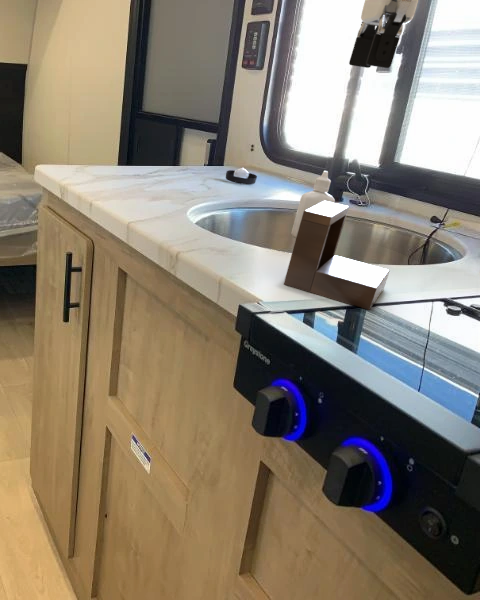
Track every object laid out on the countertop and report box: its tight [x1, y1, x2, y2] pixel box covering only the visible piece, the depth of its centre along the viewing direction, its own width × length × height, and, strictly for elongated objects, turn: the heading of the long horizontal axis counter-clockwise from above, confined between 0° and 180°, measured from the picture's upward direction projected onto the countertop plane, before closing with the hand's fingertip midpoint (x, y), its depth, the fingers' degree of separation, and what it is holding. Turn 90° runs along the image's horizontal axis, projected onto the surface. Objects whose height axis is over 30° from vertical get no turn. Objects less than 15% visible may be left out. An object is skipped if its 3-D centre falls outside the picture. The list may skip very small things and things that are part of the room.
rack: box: [283, 201, 391, 311], centre depth 80 cm, size 11×11×10 cm
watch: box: [225, 167, 258, 185], centre depth 152 cm, size 8×5×4 cm, turn 77°
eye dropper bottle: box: [290, 170, 336, 239], centre depth 104 cm, size 4×6×12 cm
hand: (368, 66), depth 88 cm, fingers open, 9 cm apart
